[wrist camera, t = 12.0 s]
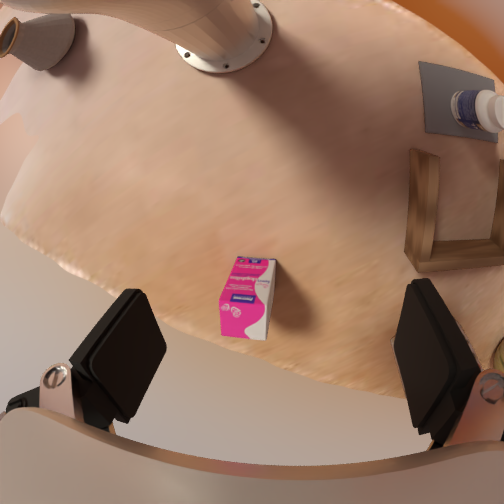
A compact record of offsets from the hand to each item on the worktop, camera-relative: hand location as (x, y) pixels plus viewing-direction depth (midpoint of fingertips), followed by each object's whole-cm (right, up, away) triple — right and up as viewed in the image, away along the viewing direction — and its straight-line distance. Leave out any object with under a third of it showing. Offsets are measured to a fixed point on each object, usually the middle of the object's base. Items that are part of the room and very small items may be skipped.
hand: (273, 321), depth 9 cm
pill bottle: (+28, +22, +16) cm, 39 cm away
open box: (+30, +10, +22) cm, 39 cm away
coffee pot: (-38, +41, +18) cm, 59 cm away
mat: (+28, +23, +16) cm, 40 cm away
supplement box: (0, -1, +33) cm, 33 cm away
